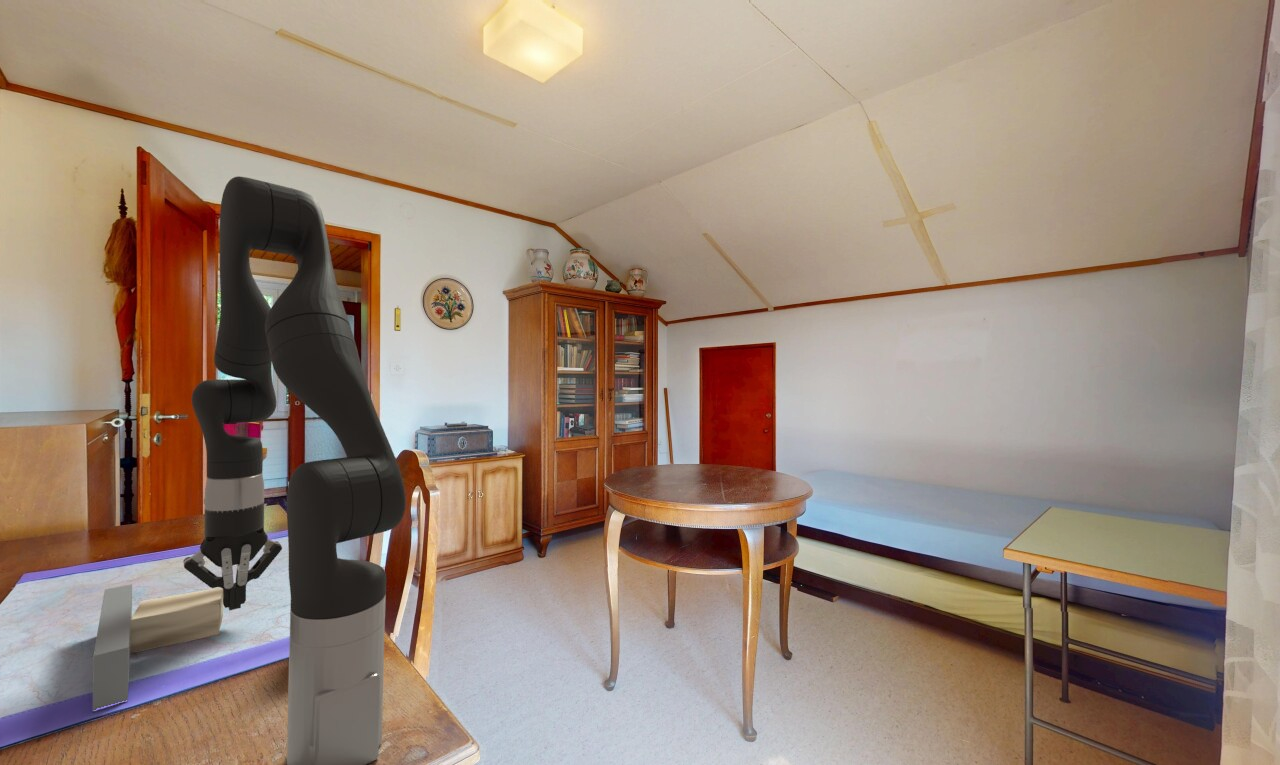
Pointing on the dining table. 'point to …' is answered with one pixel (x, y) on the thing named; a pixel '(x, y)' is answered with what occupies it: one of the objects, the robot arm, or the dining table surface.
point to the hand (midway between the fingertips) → (234, 607)
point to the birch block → (176, 619)
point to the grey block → (113, 648)
